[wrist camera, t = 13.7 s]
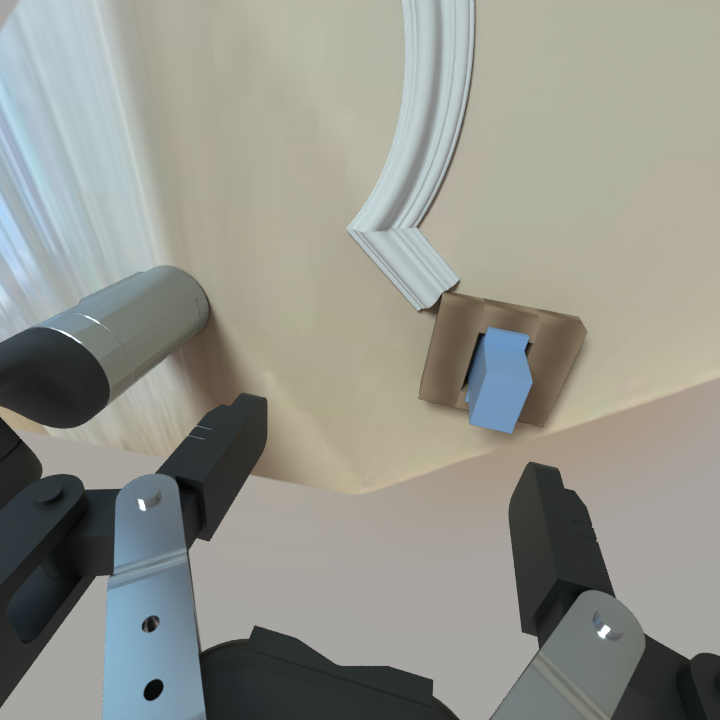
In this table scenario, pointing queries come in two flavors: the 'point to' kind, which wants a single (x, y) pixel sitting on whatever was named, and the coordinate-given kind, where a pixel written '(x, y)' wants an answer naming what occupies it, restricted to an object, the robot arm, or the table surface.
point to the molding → (420, 149)
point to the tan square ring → (473, 315)
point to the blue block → (498, 379)
